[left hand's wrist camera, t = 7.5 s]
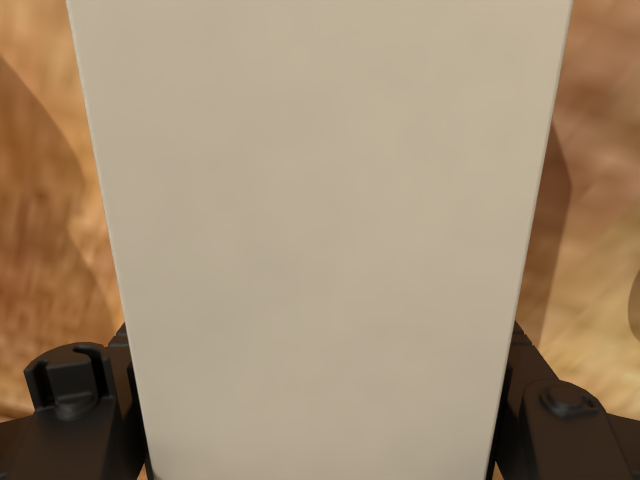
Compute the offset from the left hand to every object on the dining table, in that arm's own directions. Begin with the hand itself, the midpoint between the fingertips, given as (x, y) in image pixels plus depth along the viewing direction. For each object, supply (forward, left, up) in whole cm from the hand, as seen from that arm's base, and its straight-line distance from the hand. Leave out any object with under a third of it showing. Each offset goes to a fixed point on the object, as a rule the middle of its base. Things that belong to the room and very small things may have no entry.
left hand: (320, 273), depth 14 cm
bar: (+7, +4, 0) cm, 8 cm away
